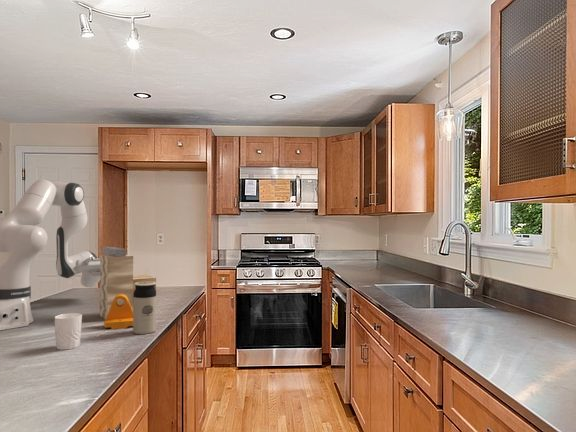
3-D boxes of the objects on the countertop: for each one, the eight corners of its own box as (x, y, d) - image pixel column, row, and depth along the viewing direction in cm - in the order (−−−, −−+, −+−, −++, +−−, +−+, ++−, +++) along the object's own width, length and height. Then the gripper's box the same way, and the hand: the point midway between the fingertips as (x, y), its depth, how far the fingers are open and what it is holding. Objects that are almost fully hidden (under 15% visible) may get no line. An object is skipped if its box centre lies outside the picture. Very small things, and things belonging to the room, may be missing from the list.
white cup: (75, 341, 139) (75, 312, 139) (86, 346, 134) (86, 315, 134) (50, 347, 133) (50, 316, 133) (60, 352, 128) (60, 320, 128)
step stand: (99, 315, 177) (100, 255, 177) (145, 309, 190) (146, 253, 190) (107, 320, 168) (108, 257, 168) (155, 314, 180) (156, 255, 181)
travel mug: (133, 329, 154) (133, 281, 154) (155, 328, 157) (155, 281, 157) (132, 335, 147) (133, 285, 147) (156, 333, 150) (156, 284, 150)
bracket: (103, 329, 154) (104, 297, 154) (105, 325, 161) (106, 294, 161) (134, 327, 158) (134, 296, 158) (135, 323, 164) (135, 293, 165)
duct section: (102, 253, 185) (102, 247, 185) (112, 253, 188) (112, 246, 188) (116, 256, 170) (116, 249, 170) (126, 256, 172) (126, 249, 172)
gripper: (71, 265, 198) (77, 252, 188) (115, 262, 210) (123, 250, 201) (72, 277, 195) (78, 265, 186) (117, 273, 208) (125, 262, 199)
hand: (102, 257), depth 194 cm, fingers open, 8 cm apart
